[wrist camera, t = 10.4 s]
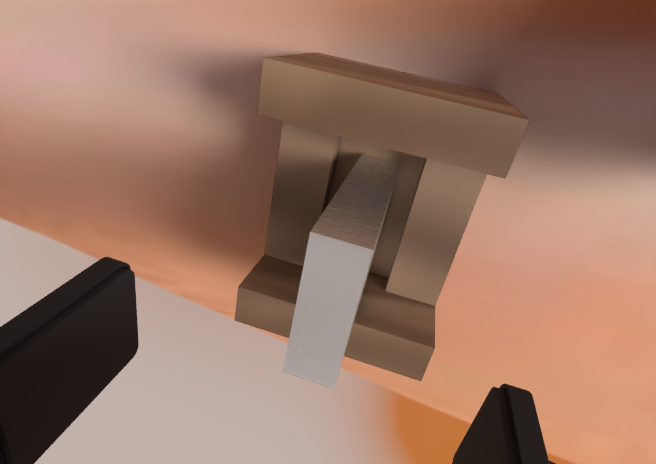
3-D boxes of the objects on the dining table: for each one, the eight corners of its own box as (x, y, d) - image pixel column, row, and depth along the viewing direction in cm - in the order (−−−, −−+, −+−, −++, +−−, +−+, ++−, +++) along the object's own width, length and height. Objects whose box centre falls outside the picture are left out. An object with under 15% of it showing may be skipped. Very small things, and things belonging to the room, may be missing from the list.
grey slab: (362, 152, 21) (310, 231, 12) (400, 162, 21) (373, 250, 12) (339, 250, 24) (282, 371, 15) (372, 260, 24) (334, 388, 15)
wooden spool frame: (317, 52, 23) (263, 57, 16) (499, 94, 21) (529, 119, 14) (284, 251, 29) (234, 320, 21) (425, 293, 27) (421, 381, 20)
